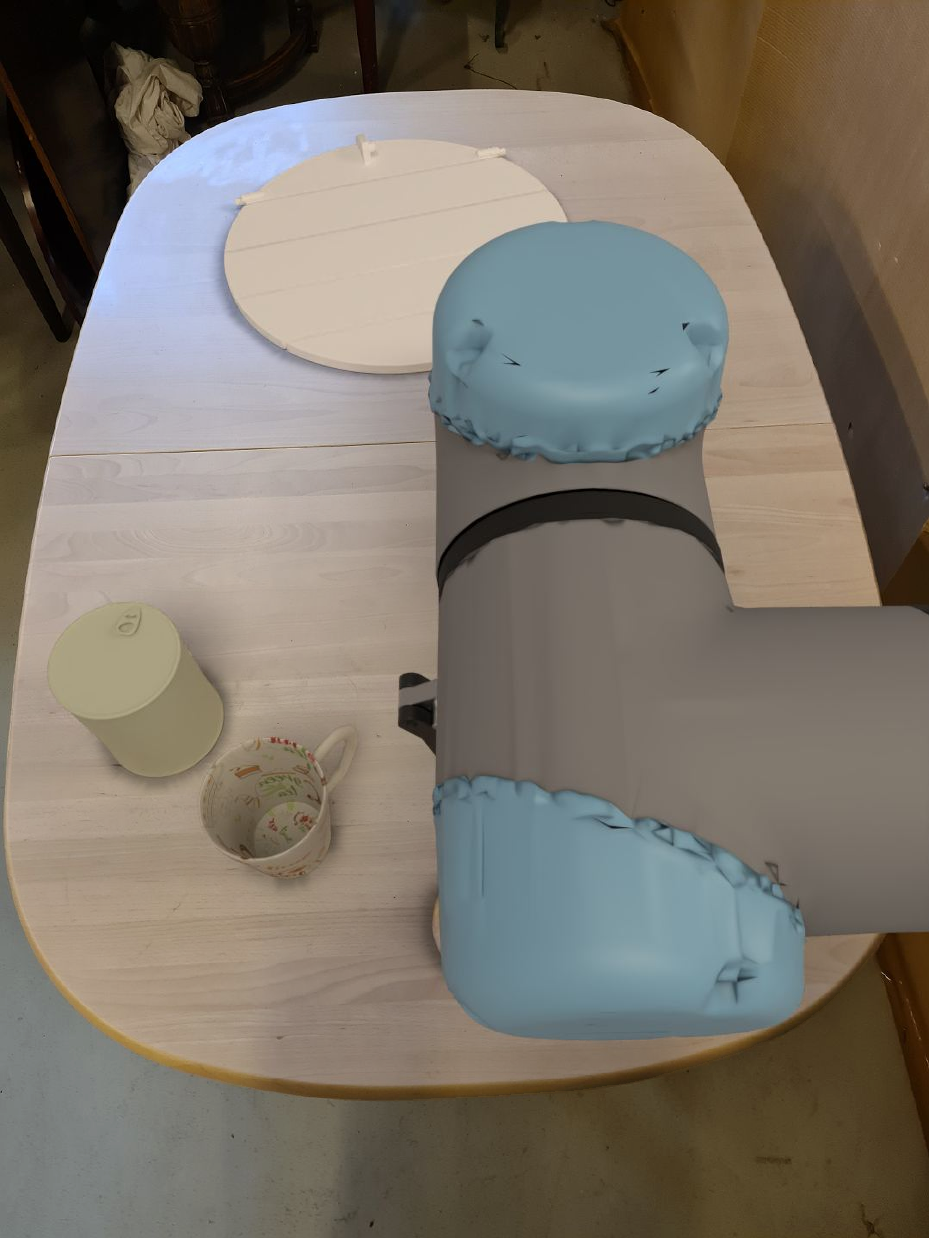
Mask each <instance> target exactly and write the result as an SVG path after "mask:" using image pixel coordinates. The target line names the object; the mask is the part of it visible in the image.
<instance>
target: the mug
mask: <svg viewBox="0 0 929 1238" xmlns="http://www.w3.org/2000/svg"><path fill="white" fill-rule="evenodd" d="M342 742H344V748H343V751H342V755H341V758H340V761H339V763H338V765H337V766H336V768H334V769H335V770H334V771H333V773H332V774H331V776H330V777H329V778H328V780H326V777H325V773H324V771H323V768H322V767H321V765H320V764H321V762H322V761H323V760H324V758H325V757H326V756H327V755H328V753H330V751H331V750H332V749H333V748H334V747H336V745H338V744H339V743H342ZM358 743H359V731H358V729H357V727H356V726H355V725H352V724H345V725H342V726H339V727H337V728H335V729H334V730H332V731H331V732H330V733H329V734H328V735H327V736H326V737H325V738H324V739H323V740H322V742H321V743H320V744H319V745H318V746H317V747H316V748H315V749H314V751H313V752H312V753H311V752H310V751H308V750H307V749H306V748H305V747H304V746H302V745H301V744H298V743H297V742H295V741H292V740H290V739H287V738H283V737H276V736H275V737H274V736H263V737H257V738H252V739H248V740H246V741H243V742H240V743H239V744H237V745H235V746H233V747H232V748H230V749H228V750H227V751H226V752H224V753H223V754H222V755H221V756H220V757H219V758H218V759H217V760H216V761H215V762H214V763H213V764H212V765H211V767H210V768H209V770H208V771H207V773H206V775H205V776H204V779H203V781H202V783H201V787H200V789H199V794H198V799H197V814H198V820H199V823H200V826H201V829H202V831H203V834H204V835H205V837H206V838H207V840H208V841H209V843H210V844H211V845H212V846H213V847H214V848H216V850H218V851H219V852H220V853H222V854H223V855H224V856H226V857H227V858H229V859H232V860H233V861H235V862H238V863H240V864H243V865H245V866H247V867H250V868H252V869H255V870H256V871H258V872H261V873H263V874H264V875H265V874H266V875H268V876H269V877H273V878H275V879H276V878H277V879H281V880H282V879H283V880H290V879H297V878H300V877H303V876H306V875H307V874H309V873H311V872H312V871H313V870H315V869H316V868H317V867H318V866H319V865H320V864H321V863H322V861H323V860H324V859H325V857H326V855H327V853H328V852H329V848H330V846H331V840H332V839H331V838H332V827H331V815H330V804H329V795H330V794H331V792H332V791H333V790H334V789H335V788H336V787H337V786H338V785H339V784H340V782H342V780H343V779H344V778H345V776H346V774H347V773H348V771H349V769H350V767H351V764H352V762H353V759H354V757H355V754H356V751H357V747H358Z"/></svg>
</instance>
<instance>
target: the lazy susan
mask: <svg viewBox="0 0 929 1238" xmlns="http://www.w3.org/2000/svg"><path fill="white" fill-rule="evenodd" d="M354 138H355V144H350V145H346V146H343V147H338V148H335V149H332V150H329V151H325V152H322V153H319V154H317V155H315V156H312V157H309V158H307V159H305V160H303V161H300V162H298V163H297V164H294V165H293V166H291V167H289V168H287V169H285V170H284V171H282V172H281V173H279V174H278V175H276V176H274V177H273V178H272V179H270V180H269V181H268V182H266V183H265V184H264V185H262V187H260V188H259V189H258V190H256V191H253V192H247V193H242V194H240V196H239V197H235V198H234V202H235V207H240V206H242V207H241V209H240V211H239V212H238V214H237V215H236V216H235V218H234V220H233V222H232V224H231V226H230V228H229V231H228V234H227V237H226V241H225V244H224V246H225V247H224V250H223V251H224V254H223V267H224V275H225V279H226V282H227V285H228V288H229V291H230V294H231V297H232V299H233V301H234V303H235V305H236V307H237V308H238V310H239V311H240V313H241V314H242V316H243V318H244V319H246V320H247V322H248V323H249V324H250V325H251V326H252V327H253V328H254V329H255V330H256V331H257V332H258V333H259V334H260V335H262V336H263V337H264V338H265V339H266V340H268V341H270V342H271V343H273V344H274V345H275V346H277V347H279V348H281V349H282V350H287V352H289V353H290V354H292V355H294V356H297V357H299V358H301V359H304V360H307V361H309V362H312V363H315V364H318V365H321V366H325V367H327V368H328V367H329V368H333V369H338V370H342V371H349V372H355V373H356V372H357V373H363V374H364V373H365V374H378V375H379V374H380V375H397V374H400V375H401V374H414V373H423V372H430V371H431V369H432V327H433V315H434V310H435V305H436V302H437V300H438V297H439V295H440V293H441V291H442V289H443V287H444V285H445V283H446V281H447V279H448V278H449V276H450V275H451V273H452V272H453V271H454V270H455V268H456V267H457V266H458V265H459V264H460V263H461V262H462V261H463V260H464V259H465V258H466V257H467V256H468V255H469V254H471V253H472V252H473V251H474V250H476V249H477V248H479V247H480V246H482V245H484V244H485V243H487V242H488V241H490V240H492V239H494V238H496V237H498V236H500V235H502V234H504V233H506V232H509V231H512V230H515V229H518V228H521V227H525V226H529V225H533V224H537V223H542V222H549V221H556V222H569V221H568V218H567V216H566V213H565V212H564V209H563V207H562V205H560V203H559V202H558V200H557V198H556V196H554V195H553V194H552V192H551V191H550V190H548V187H546V186H545V185H544V184H543V183H542V182H541V181H540V180H539V179H537V178H536V177H535V176H534V175H532V174H531V173H529V172H528V171H527V170H526V169H524V168H523V167H520V166H519V165H517V164H516V163H513V162H512V161H510V160H508V159H505V158H504V157H505V156H507V150H506V148H505V147H501V148H500V147H499V146H493V147H487V148H482V149H480V148H477V147H473V146H470V145H464V144H461V143H455V142H449V141H444V140H443V141H442V140H434V139H422V138H421V139H420V138H419V139H418V138H417V139H416V138H399V139H398V138H396V139H395V138H394V139H382V140H375V141H374V140H373V141H369V140H368V138H367V136H366V135H365V133H360V134H356V135H355V137H354Z"/></svg>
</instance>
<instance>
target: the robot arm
mask: <svg viewBox="0 0 929 1238" xmlns="http://www.w3.org/2000/svg"><path fill="white" fill-rule="evenodd" d="M729 341H730V326H729V316H728V311H727V306H726V304H725V301H724V299H723V297H722V295H721V293H720V291H719V289H718V286H717V285H716V284H715V282H714V281H713V279H712V277H710V275H709V274H708V273H707V272H706V271H705V269H704V268H703V267H702V266H701V265H700V264H699V263H698V262H697V261H696V260H695V259H694V258H693V257H691V255H689V254H688V253H686V252H685V251H684V250H682V249H681V248H680V247H678V246H676V245H674V244H673V243H671V242H670V241H668V240H666V239H664V238H662V237H660V236H658V235H656V234H654V233H650V232H648V231H646V230H643V229H640V228H636V227H633V226H629V225H625V224H622V223H616V222H611V221H606V220H605V221H604V220H596V219H592V220H586V221H575V222H569V221H568V222H556V221H549V222H542V223H537V224H533V225H529V226H525V227H521V228H518V229H515V230H512V231H509V232H506V233H504V234H502V235H500V236H498V237H496V238H494V239H492V240H490V241H488V242H487V243H485V244H484V245H482V246H480V247H479V248H477V249H476V250H474V251H473V252H472V253H471V254H469V255H468V256H467V257H466V258H465V259H464V260H463V261H462V262H461V263H460V264H459V265H458V266H457V267H456V268H455V270H454V271H453V272H452V273H451V275H450V276H449V278H448V279H447V281H446V283H445V285H444V287H443V289H442V291H441V293H440V295H439V297H438V300H437V302H436V305H435V310H434V315H433V327H432V369H431V370H430V371H429V373H428V376H427V380H428V382H429V386H428V392H427V396H428V402H429V405H430V406H429V407H430V412H431V413H433V414H434V415H433V416H434V432H435V434H434V435H435V471H436V472H435V473H436V475H435V477H436V481H435V483H436V485H435V486H436V487H435V579H436V584H437V589H438V594H437V595H438V596H437V597H438V613H437V614H438V615H437V616H438V617H437V663H436V665H437V671H436V675H437V676H436V678H435V679H430V678H428V677H426V676H424V675H423V674H420V673H418V672H411V671H410V672H405V673H402V674H400V675H399V676H398V699H397V700H398V703H397V704H398V706H397V711H398V712H397V726H398V727H399V729H402V730H404V731H406V732H408V733H410V734H412V735H413V736H415V737H417V738H419V739H421V740H422V741H423V742H424V743H425V745H426V746H427V747H428V749H429V750H430V751H431V752H432V754H433V755H434V756H435V773H434V774H435V776H434V777H435V778H434V779H435V781H434V782H435V783H434V788H433V790H432V795H431V796H432V797H431V800H432V816H433V823H434V827H435V843H436V844H435V846H436V848H435V849H436V867H437V872H436V873H437V892H438V893H437V894H438V895H437V897H438V896H439V919H440V943H441V954H440V963H441V964H440V965H441V972H442V975H443V979H444V981H445V985H446V987H447V991H448V992H450V993H452V995H453V998H454V999H455V1001H456V1002H457V1004H458V1005H460V1007H461V1008H462V1010H463V1011H464V1013H466V1014H467V1016H469V1018H471V1020H473V1021H474V1022H476V1023H477V1024H479V1025H480V1026H483V1028H485V1029H488V1030H490V1031H493V1032H495V1033H499V1034H503V1035H508V1036H512V1037H520V1038H529V1039H535V1040H536V1039H537V1040H554V1041H556V1040H557V1041H598V1042H599V1041H602V1042H604V1041H605V1042H607V1041H642V1040H657V1039H665V1038H667V1039H668V1038H702V1037H704V1038H705V1037H714V1036H715V1037H716V1036H717V1037H718V1036H727V1035H735V1034H741V1033H742V1034H743V1033H749V1032H755V1031H759V1030H765V1029H768V1028H771V1027H775V1026H778V1025H781V1024H782V1023H784V1022H785V1021H786V1020H788V1019H789V1018H790V1017H792V1016H793V1014H795V1012H796V1011H797V1010H798V1008H799V1007H800V1005H801V1003H802V1000H803V998H804V994H805V988H806V987H805V986H806V984H805V983H806V982H805V947H806V944H807V939H806V938H812V937H831V936H853V935H871V934H888V933H889V934H890V933H891V934H892V933H929V604H900V605H869V606H868V605H867V606H865V605H861V606H858V605H854V606H852V605H851V606H772V607H771V606H767V607H765V606H763V607H743V606H738V605H735V604H734V601H733V598H732V594H731V591H730V588H729V584H728V581H727V577H726V570H725V564H724V560H723V554H722V548H721V546H720V544H719V542H718V539H717V534H716V529H715V524H714V523H715V522H714V520H713V514H712V509H711V503H710V497H709V493H708V488H707V484H706V483H707V482H706V478H705V472H704V463H703V445H704V444H703V443H704V437H705V431H706V429H707V427H708V426H709V425H710V424H712V422H714V420H715V419H716V417H717V414H718V411H719V407H720V406H721V403H722V400H723V390H722V387H721V385H722V378H723V373H724V368H725V362H726V356H727V354H728V348H729Z"/></svg>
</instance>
